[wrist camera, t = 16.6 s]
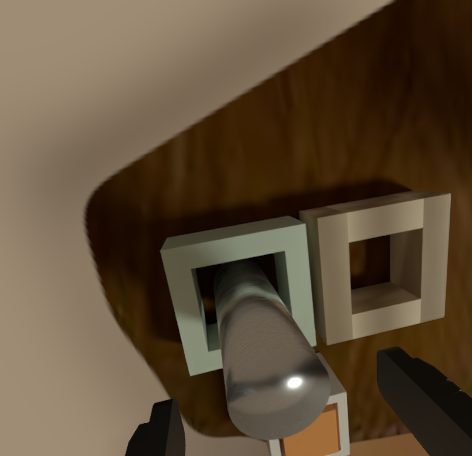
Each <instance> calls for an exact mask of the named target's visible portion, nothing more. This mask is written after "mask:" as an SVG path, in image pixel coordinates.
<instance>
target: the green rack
mask: <svg viewBox="0 0 472 456" xmlns="http://www.w3.org/2000/svg"><path fill="white" fill-rule="evenodd" d="M160 252H161V256H162V260H163V264H164V269H165V273H166V277H167V281H168V285H169V289H170V294H171V298H172V302H173V306H174V310H175V315H176V319H177V323H178V327H179V331H180V335H181V340H182V344H183V348H184V352H185V356H186V361H187V365H188V369H189V373H190V376H192V375H196V374H200V373H204V372H208V371H212V370H217V369H221V368H223V364H222V356H221V347H220V339H219V330H218V323H214V324H210V325H207V322H206V317H205V313H204V308H203V303H202V298H201V293H200V288H199V284H198V279H197V274H196V269H195V268H199V267H204V266H209V265H214V264H219V263H224V262H230V261H235V260H240V259H245V258H250V257H255V256H260V255H265V254H270V253H274V260H275V268H276V276H277V285H278V293H279V297H280V299H281V300H282V302H283V303H284V305H285V306H286V308H287V309H288V311H289V312H290V314H291V316H292V317H293V319H294V320H295V322H296V323H297V325H298V326H299V328H300V329H301V331H302V333H303V334H304V336H305V337H306V339H307V340H308V342H309V343H310V345H311V346H316V337H315V325H314V314H313V303H312V291H311V280H310V268H309V257H308V246H307V234H306V224H305V223H303V222H301V221H299V220H297V219H295V218H293V217H291V216H284V217H279V218H273V219H268V220H262V221H257V222H251V223H246V224H240V225H235V226H229V227H224V228H218V229H213V230H207V231H202V232H196V233H191V234H185V235H180V236H174V237H169V238H167V239H166V241H165V243H164V245H163V246H162V248H161V250H160Z"/></svg>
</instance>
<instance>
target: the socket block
mask: <svg viewBox="0 0 472 456" xmlns="http://www.w3.org/2000/svg"><path fill="white" fill-rule="evenodd" d="M450 202H451V193H438V192H426V191H408V192H402V193H397V194H391V195H385V196H380V197H374V198H369V199H363V200H358V201H352V202H347V203H341V204H336V205H330V206H325V207H319V208H314V209H308V210H302V211H299V218H300V221H301V222H303V223H305V224H306V234H307V246H308V257H309V268H310V280H311V291H312V303H313V314H314V325H315V330H316V331H317V332H318V334H319V335H320V336H321V338H322V339H323V341H324V342H325V343H326V345H331V344H335V343H339V342H343V341H347V340H351V339H355V338H360V337H364V336H368V335H372V334H376V333H380V332H384V331H389V330H393V329H397V328H401V327H405V326H409V325H413V324H418V323H422V322H426V321H430V320H434V319H438V318H442V317H444V311H445V293H446V275H447V256H448V238H449V220H450ZM389 234H390V282H385V283H381V284H376V285H372V286H367V287H363V288H358V289H353V290H351V285H350V263H349V242H354V241H359V240H364V239H369V238H374V237H379V236H384V235H389Z"/></svg>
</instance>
